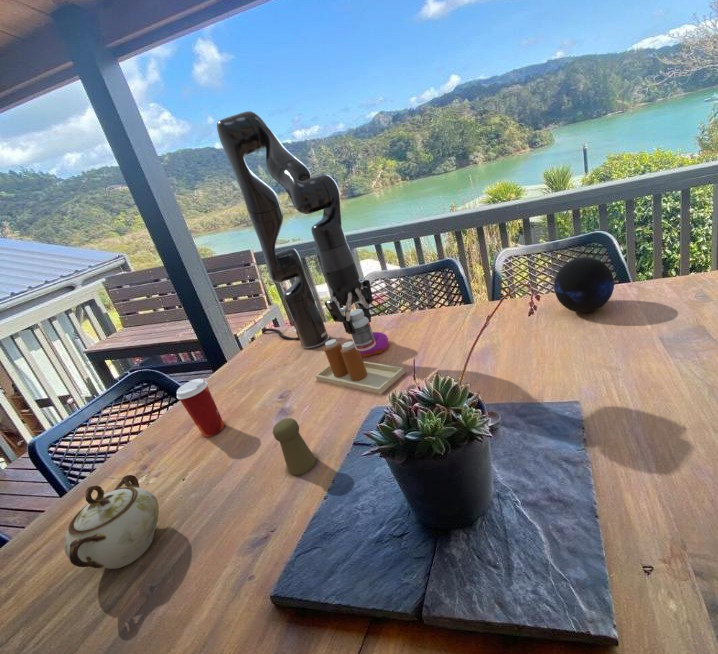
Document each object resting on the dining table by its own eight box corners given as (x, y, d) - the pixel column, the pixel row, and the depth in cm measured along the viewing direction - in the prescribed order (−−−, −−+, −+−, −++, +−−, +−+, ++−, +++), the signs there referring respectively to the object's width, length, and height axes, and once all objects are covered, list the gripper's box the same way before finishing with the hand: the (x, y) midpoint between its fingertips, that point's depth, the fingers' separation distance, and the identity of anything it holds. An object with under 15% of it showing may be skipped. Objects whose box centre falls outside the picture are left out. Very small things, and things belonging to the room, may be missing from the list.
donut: (356, 361, 129) (351, 348, 127) (359, 346, 139) (355, 334, 137) (390, 353, 128) (385, 340, 127) (390, 339, 138) (386, 326, 136)
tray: (317, 381, 124) (314, 375, 124) (341, 363, 131) (339, 357, 130) (381, 395, 108) (379, 389, 107) (405, 374, 115) (403, 367, 114)
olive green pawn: (286, 462, 94) (267, 421, 89) (313, 450, 95) (295, 410, 91) (289, 479, 88) (269, 437, 84) (317, 466, 90) (299, 424, 85)
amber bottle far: (330, 376, 124) (318, 345, 120) (342, 367, 127) (331, 337, 123) (341, 378, 121) (330, 346, 117) (353, 369, 124) (342, 338, 120)
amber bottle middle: (347, 379, 119) (335, 347, 115) (358, 370, 123) (347, 339, 119) (359, 382, 116) (347, 349, 112) (370, 372, 120) (360, 340, 116)
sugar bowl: (120, 517, 91) (82, 463, 85) (188, 499, 91) (154, 443, 85) (60, 609, 73) (5, 548, 67) (144, 586, 73) (96, 523, 67)
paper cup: (234, 420, 117) (211, 376, 111) (216, 439, 110) (191, 393, 105) (211, 421, 119) (188, 378, 114) (192, 440, 113) (167, 395, 107)
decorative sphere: (575, 296, 131) (570, 248, 125) (626, 302, 119) (623, 249, 113) (546, 317, 123) (539, 267, 117) (597, 326, 111) (592, 271, 106)
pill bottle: (380, 344, 110) (369, 309, 106) (362, 353, 108) (350, 318, 104) (369, 339, 114) (359, 306, 111) (352, 348, 112) (340, 314, 108)
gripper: (348, 254, 109) (367, 314, 116) (306, 276, 100) (329, 340, 107) (369, 253, 105) (388, 315, 111) (327, 276, 95) (350, 343, 102)
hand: (359, 327), depth 109 cm, fingers closed on pill bottle, 5 cm apart
